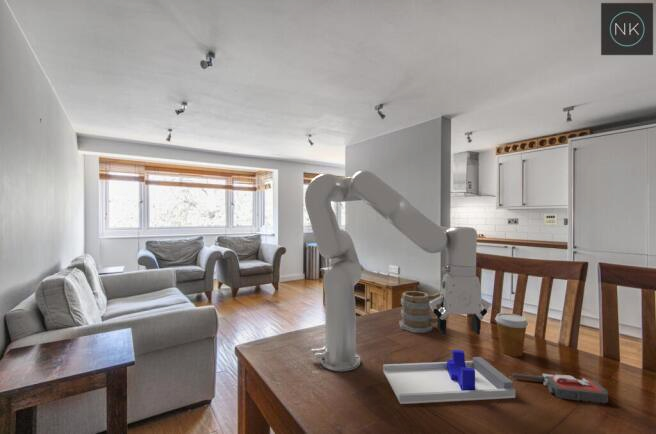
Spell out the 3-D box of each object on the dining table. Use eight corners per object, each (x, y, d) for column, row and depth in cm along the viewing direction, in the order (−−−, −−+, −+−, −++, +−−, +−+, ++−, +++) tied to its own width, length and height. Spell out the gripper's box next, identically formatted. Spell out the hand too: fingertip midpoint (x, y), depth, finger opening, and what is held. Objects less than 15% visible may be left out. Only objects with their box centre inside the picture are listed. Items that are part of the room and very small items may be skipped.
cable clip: (447, 369, 88) (447, 349, 88) (463, 370, 87) (463, 350, 87) (456, 392, 76) (456, 369, 76) (475, 394, 75) (475, 371, 75)
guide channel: (400, 403, 72) (400, 389, 72) (383, 371, 88) (383, 359, 88) (515, 397, 75) (515, 383, 75) (478, 367, 90) (478, 355, 90)
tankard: (403, 332, 118) (403, 295, 118) (397, 321, 130) (397, 287, 131) (454, 333, 117) (454, 295, 117) (443, 322, 130) (443, 288, 130)
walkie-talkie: (592, 386, 81) (511, 378, 85) (592, 370, 81) (511, 362, 85) (616, 406, 72) (524, 395, 76) (615, 388, 72) (524, 378, 76)
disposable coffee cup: (525, 349, 103) (525, 314, 103) (530, 361, 94) (530, 323, 94) (493, 344, 107) (493, 311, 107) (496, 355, 98) (496, 319, 98)
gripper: (436, 273, 78) (434, 338, 78) (499, 274, 79) (497, 337, 79) (425, 268, 85) (423, 327, 85) (482, 269, 87) (480, 327, 87)
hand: (458, 332), depth 82 cm, fingers open, 9 cm apart
